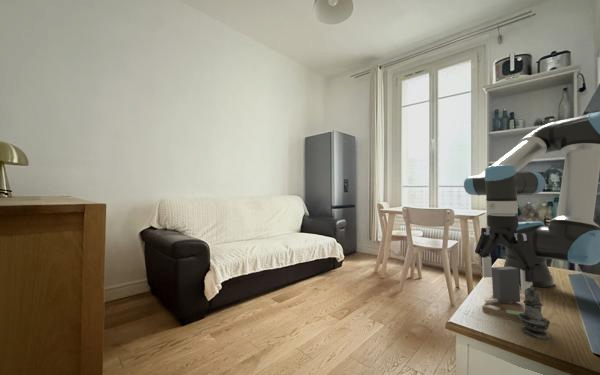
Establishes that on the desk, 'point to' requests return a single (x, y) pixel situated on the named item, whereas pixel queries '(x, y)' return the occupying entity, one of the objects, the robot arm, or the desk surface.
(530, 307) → the dark grey chess piece
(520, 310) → the board
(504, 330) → the desk surface
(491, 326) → the desk surface
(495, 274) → the grey block
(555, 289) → the desk surface
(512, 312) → the dial marks
